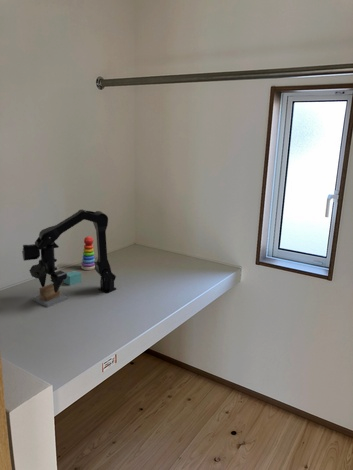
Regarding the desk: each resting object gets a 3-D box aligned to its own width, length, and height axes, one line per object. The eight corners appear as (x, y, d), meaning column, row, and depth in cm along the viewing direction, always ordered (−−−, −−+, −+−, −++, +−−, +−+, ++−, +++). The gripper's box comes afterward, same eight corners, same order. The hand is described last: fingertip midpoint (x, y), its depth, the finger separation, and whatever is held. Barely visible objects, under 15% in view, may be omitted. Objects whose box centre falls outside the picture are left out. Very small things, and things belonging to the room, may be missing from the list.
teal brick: (81, 281, 196) (81, 273, 194) (70, 285, 190) (69, 276, 189) (75, 279, 199) (75, 270, 197) (64, 283, 193) (63, 274, 192)
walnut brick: (59, 296, 175) (59, 286, 174) (47, 301, 170) (46, 291, 168) (52, 293, 178) (52, 283, 177) (40, 298, 172) (39, 288, 171)
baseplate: (67, 298, 176) (67, 296, 175) (47, 307, 167) (47, 304, 166) (52, 292, 181) (52, 290, 181) (32, 300, 173) (32, 297, 172)
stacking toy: (92, 271, 210) (91, 239, 205) (78, 269, 211) (78, 237, 206) (97, 266, 217) (97, 235, 212) (84, 265, 219) (84, 234, 214)
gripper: (19, 257, 167) (21, 289, 171) (45, 267, 157) (47, 301, 161) (40, 251, 176) (42, 282, 180) (67, 260, 166) (68, 293, 170)
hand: (49, 289), depth 173 cm, fingers open, 9 cm apart
